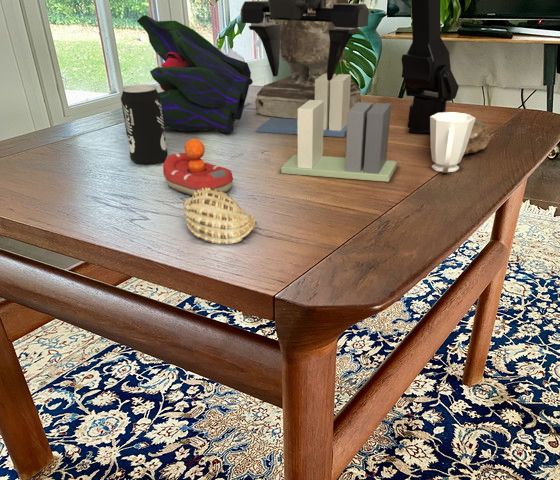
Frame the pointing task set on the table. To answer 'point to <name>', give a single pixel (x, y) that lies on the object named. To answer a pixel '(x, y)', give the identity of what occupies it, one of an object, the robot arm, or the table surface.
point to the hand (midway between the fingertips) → (301, 78)
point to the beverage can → (144, 124)
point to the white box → (310, 133)
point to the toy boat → (195, 171)
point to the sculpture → (300, 67)
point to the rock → (477, 138)
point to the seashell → (217, 217)
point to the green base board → (357, 148)
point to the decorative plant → (196, 79)
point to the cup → (449, 139)
